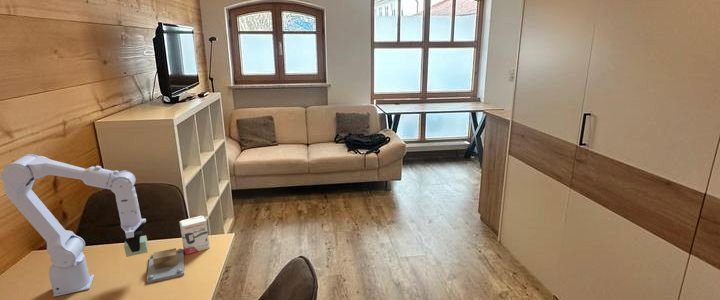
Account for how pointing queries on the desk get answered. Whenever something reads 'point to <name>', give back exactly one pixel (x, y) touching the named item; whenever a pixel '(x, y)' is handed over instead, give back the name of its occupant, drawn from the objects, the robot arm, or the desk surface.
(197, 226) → the ink box
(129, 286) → the desk surface
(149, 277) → the baseplate
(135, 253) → the sage brick
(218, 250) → the desk surface
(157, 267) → the walnut brick
